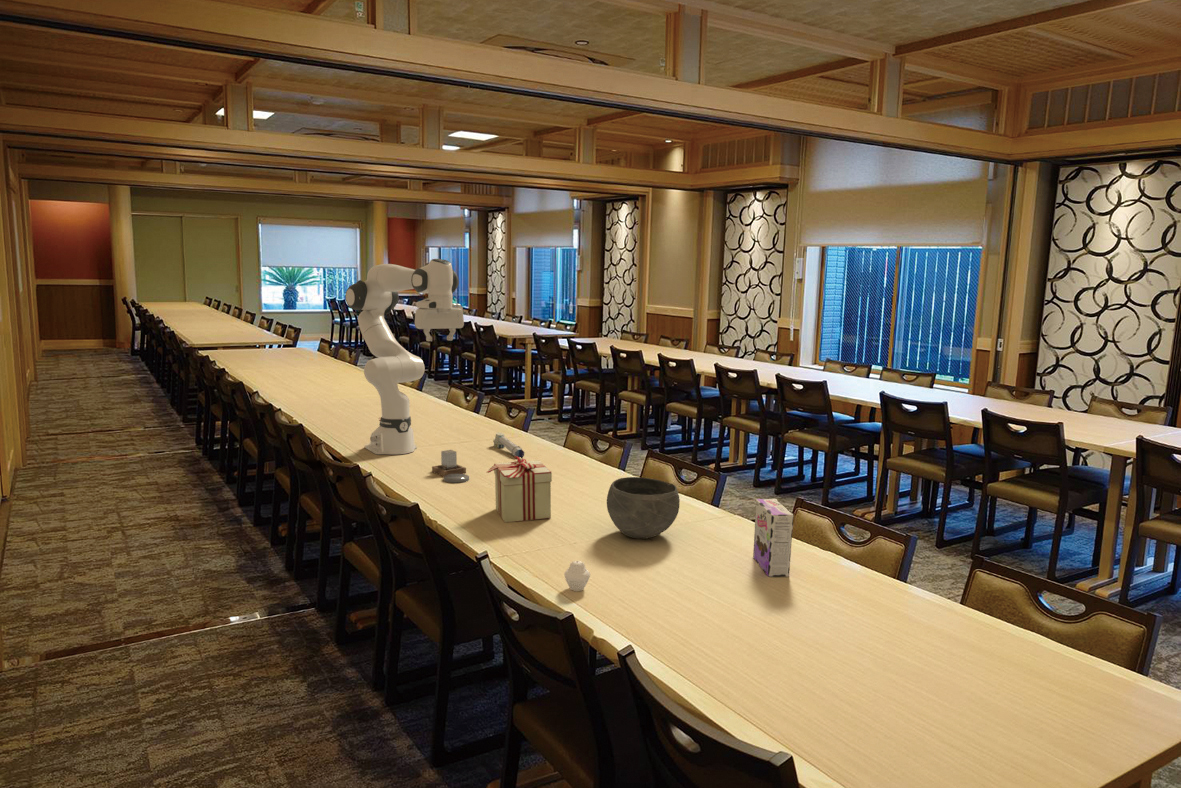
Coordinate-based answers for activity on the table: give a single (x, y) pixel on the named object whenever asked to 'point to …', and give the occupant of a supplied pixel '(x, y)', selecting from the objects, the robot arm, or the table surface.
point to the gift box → (522, 490)
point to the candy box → (773, 537)
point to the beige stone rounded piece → (577, 576)
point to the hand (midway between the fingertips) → (439, 340)
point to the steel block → (448, 460)
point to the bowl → (642, 506)
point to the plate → (456, 478)
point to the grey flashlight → (507, 445)
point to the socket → (446, 472)
